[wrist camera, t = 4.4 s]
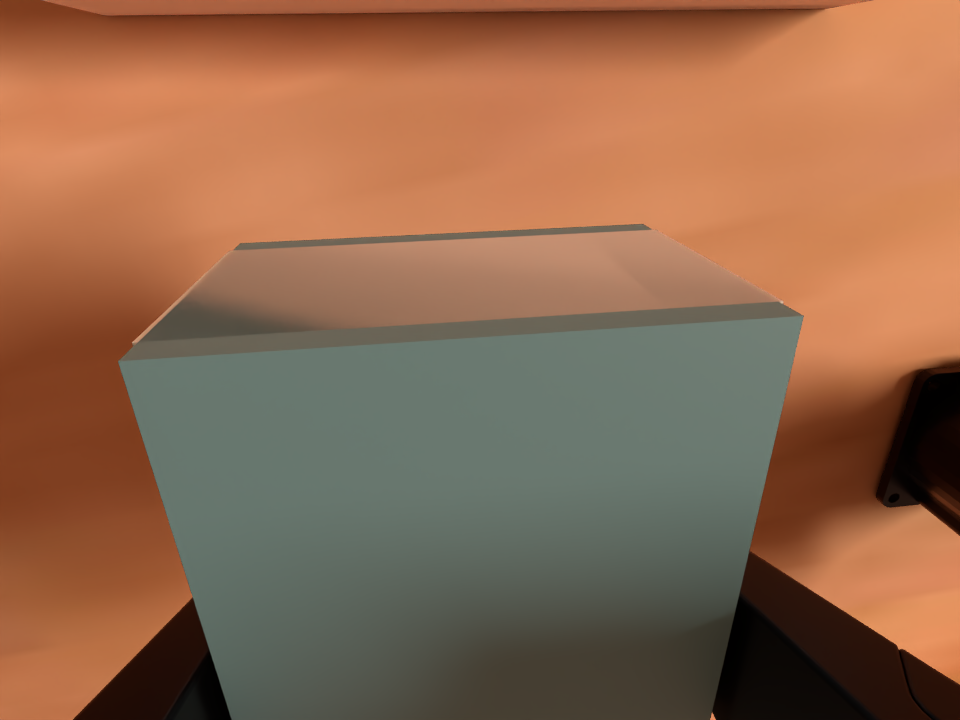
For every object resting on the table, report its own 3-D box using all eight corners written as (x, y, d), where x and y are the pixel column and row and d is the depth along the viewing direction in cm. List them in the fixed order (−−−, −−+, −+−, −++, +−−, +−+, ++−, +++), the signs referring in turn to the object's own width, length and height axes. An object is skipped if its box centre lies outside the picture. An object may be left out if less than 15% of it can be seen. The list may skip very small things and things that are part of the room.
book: (601, 664, 13) (675, 880, 10) (328, 698, 13) (299, 942, 9) (646, 223, 9) (809, 315, 5) (236, 243, 8) (111, 362, 5)
